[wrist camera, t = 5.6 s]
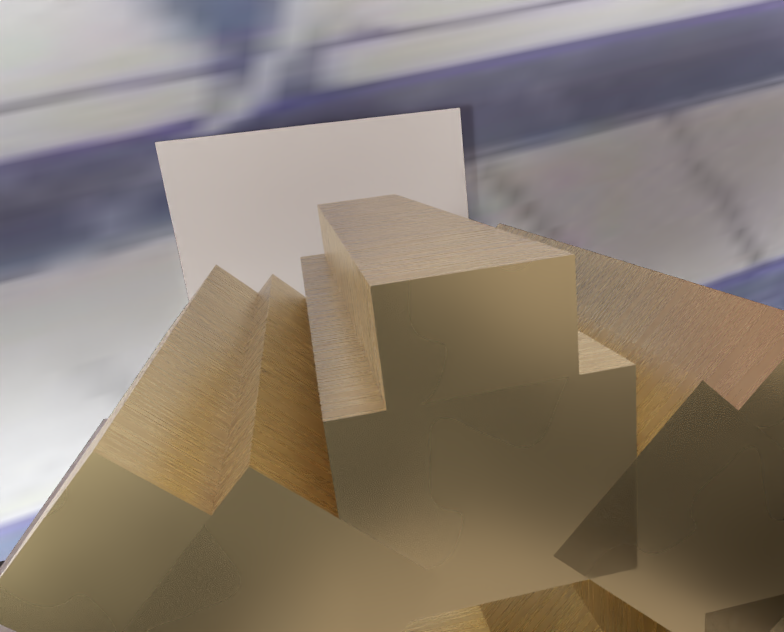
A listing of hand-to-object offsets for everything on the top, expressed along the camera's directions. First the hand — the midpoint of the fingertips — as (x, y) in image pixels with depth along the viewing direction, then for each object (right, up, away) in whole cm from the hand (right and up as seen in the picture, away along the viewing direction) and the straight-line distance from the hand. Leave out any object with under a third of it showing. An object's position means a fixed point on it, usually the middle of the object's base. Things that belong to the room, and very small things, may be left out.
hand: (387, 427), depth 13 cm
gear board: (-2, -1, +19) cm, 19 cm away
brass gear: (0, 0, 0) cm, 0 cm away
